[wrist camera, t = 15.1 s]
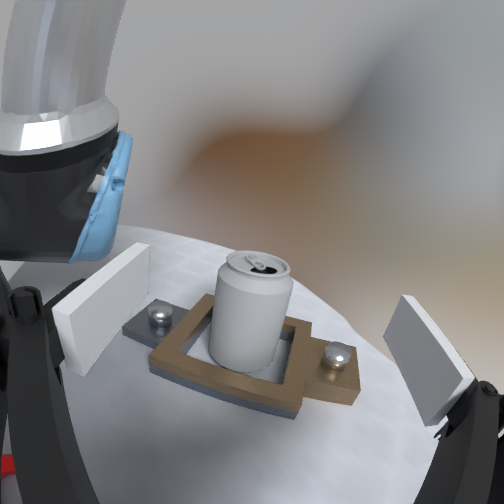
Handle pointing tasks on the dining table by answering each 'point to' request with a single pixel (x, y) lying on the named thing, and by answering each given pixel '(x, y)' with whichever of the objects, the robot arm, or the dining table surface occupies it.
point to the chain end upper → (280, 396)
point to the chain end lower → (186, 349)
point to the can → (249, 310)
